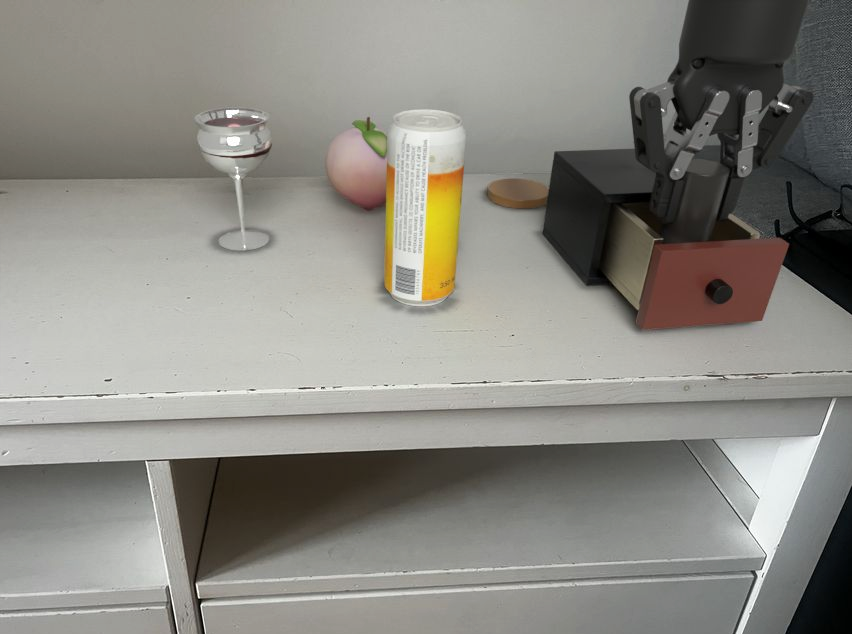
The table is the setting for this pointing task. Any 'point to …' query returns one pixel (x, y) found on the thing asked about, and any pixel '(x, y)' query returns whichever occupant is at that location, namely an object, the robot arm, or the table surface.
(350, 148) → the decorative fruit
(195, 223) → the table surface
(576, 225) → the drawer cabinet
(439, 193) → the beer can
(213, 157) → the wineglass
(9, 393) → the table surface
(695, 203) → the dark grey cylinder
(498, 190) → the disc
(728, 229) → the cabinet drawer
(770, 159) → the robot arm
